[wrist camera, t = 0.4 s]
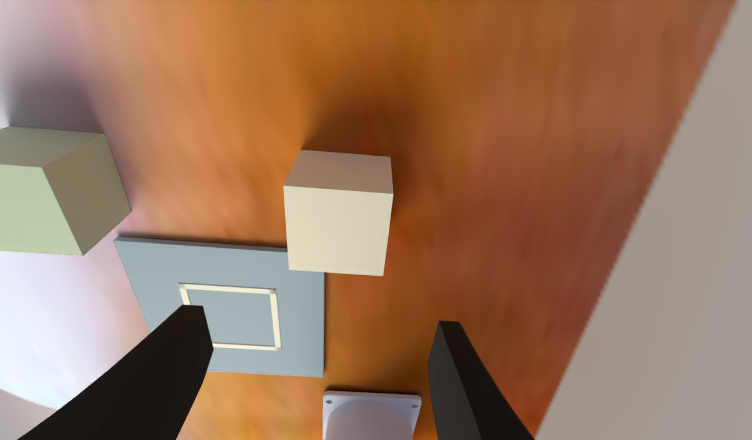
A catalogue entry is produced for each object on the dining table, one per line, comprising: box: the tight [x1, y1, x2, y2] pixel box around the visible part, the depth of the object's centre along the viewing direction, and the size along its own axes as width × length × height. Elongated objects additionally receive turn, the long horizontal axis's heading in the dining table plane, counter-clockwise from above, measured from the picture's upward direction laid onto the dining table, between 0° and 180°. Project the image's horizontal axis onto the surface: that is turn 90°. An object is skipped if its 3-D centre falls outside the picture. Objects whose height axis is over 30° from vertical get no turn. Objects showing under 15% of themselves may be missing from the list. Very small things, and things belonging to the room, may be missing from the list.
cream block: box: [284, 150, 393, 276], centre depth 17 cm, size 4×4×4 cm
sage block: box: [0, 126, 131, 256], centre depth 17 cm, size 4×4×4 cm
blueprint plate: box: [114, 237, 325, 377], centre depth 24 cm, size 12×12×1 cm
